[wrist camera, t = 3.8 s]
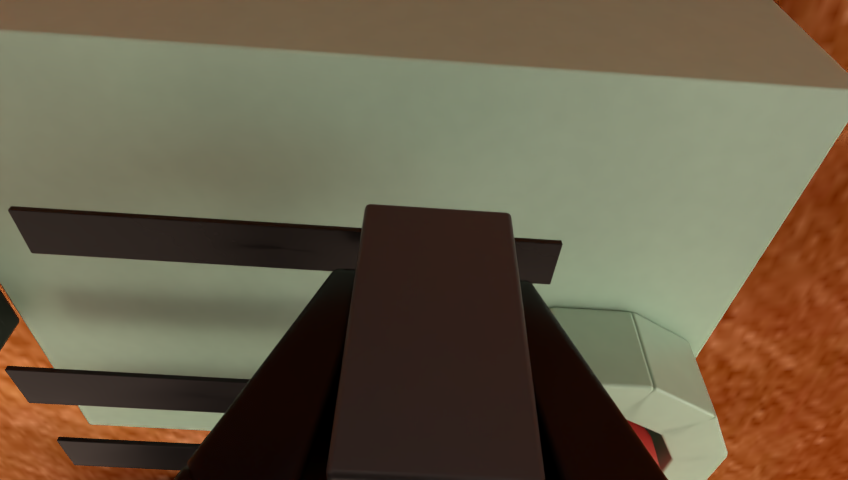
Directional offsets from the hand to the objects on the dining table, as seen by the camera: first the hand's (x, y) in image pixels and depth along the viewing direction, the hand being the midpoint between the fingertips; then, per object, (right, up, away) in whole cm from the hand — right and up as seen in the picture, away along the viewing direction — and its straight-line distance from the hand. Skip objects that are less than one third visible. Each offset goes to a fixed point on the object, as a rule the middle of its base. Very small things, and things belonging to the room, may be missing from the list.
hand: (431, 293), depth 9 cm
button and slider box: (-1, +2, +8) cm, 8 cm away
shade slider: (0, 0, 0) cm, 0 cm away
